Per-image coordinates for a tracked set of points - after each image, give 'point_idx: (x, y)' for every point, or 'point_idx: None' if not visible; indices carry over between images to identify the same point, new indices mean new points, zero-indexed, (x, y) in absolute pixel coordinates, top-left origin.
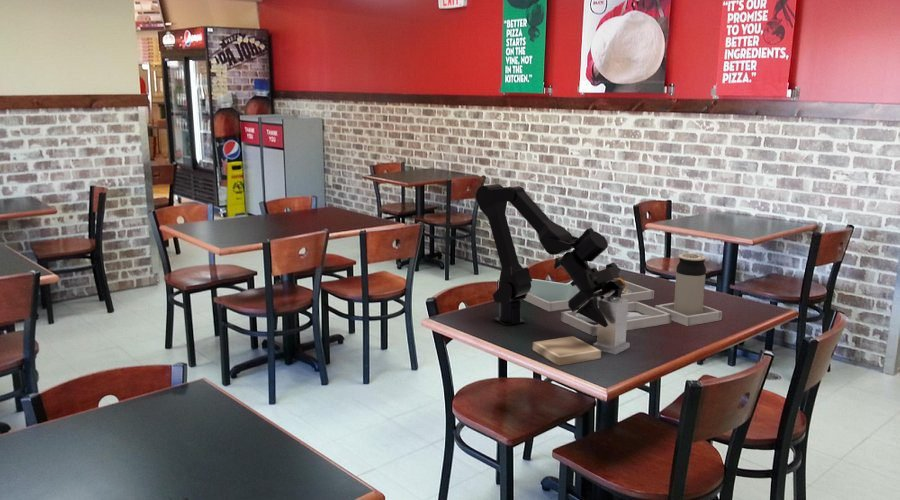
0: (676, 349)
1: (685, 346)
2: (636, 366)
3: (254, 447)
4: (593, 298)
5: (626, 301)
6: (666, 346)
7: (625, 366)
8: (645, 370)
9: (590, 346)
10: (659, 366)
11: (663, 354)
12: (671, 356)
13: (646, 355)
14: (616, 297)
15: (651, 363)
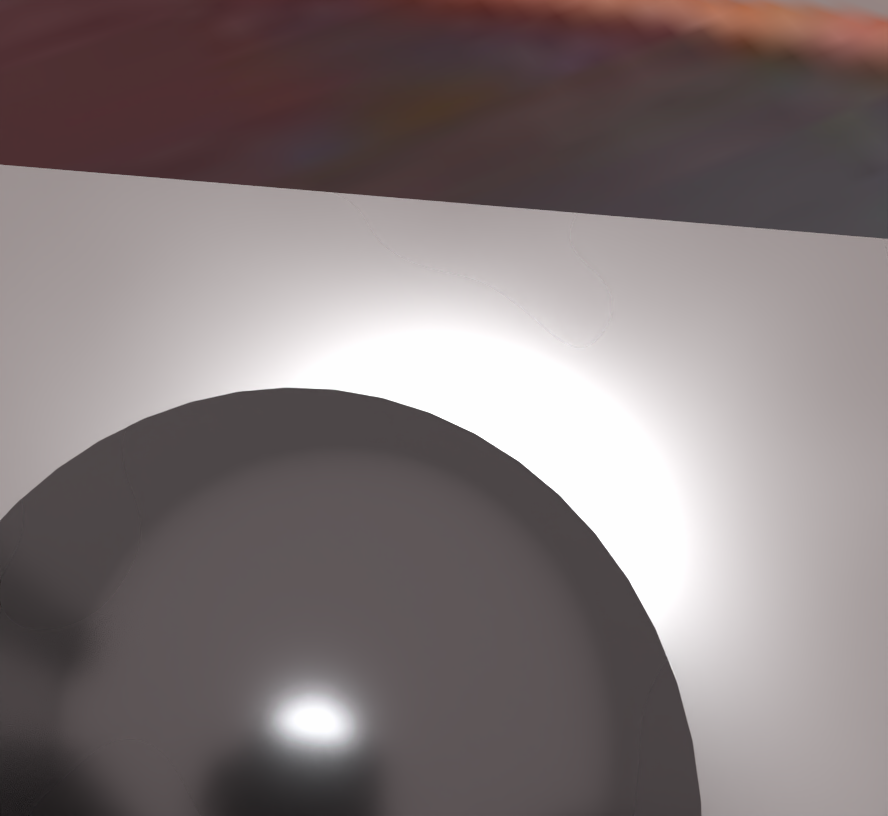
0: (130, 55)
1: (8, 25)
2: (800, 159)
3: None
4: None
5: (46, 200)
6: (94, 149)
7: (874, 237)
8: (839, 63)
9: None
10: (657, 11)
11: (330, 93)
12: (341, 24)
13: (450, 199)
14: (131, 637)
15: (630, 88)
